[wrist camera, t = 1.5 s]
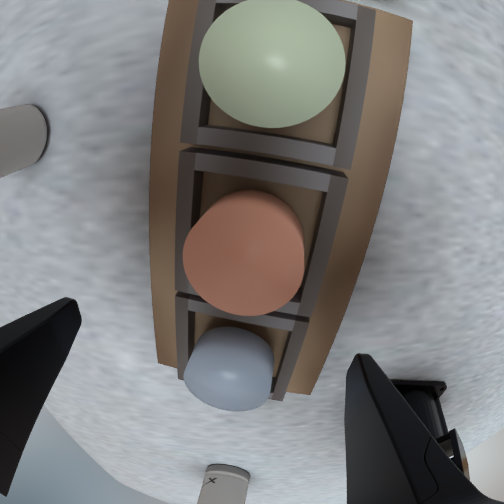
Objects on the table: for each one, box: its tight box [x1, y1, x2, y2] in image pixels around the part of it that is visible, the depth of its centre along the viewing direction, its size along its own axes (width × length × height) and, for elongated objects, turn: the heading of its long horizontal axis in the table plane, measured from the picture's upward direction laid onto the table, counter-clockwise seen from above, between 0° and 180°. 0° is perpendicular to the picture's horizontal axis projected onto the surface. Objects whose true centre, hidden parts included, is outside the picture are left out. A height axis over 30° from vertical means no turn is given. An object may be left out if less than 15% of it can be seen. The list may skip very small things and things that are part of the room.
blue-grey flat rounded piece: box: [184, 327, 275, 411], centre depth 17 cm, size 5×5×2 cm
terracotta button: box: [183, 190, 304, 316], centre depth 13 cm, size 5×5×2 cm
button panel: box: [149, 0, 413, 401], centre depth 16 cm, size 12×25×4 cm, turn 172°
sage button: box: [199, 0, 346, 128], centre depth 10 cm, size 5×5×2 cm
